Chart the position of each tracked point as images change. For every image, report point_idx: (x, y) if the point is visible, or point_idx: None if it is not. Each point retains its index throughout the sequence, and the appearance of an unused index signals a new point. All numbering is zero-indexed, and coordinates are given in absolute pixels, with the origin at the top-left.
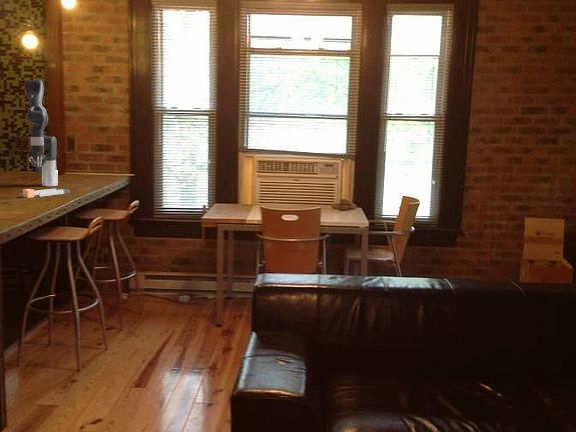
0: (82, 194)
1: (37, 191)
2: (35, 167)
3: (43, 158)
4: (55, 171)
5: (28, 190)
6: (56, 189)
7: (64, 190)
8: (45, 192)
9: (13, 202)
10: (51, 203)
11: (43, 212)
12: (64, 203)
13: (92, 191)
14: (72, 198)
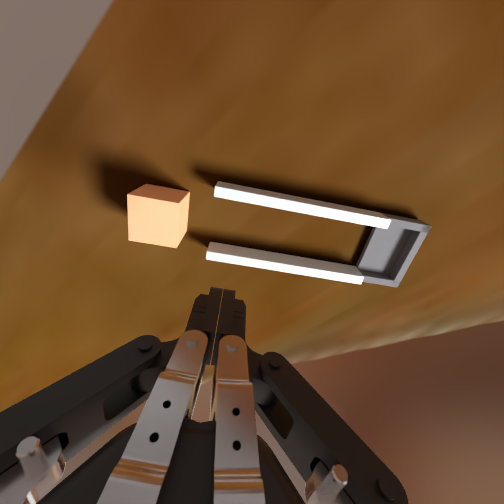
0: (372, 331)
1: (251, 202)
2: (186, 329)
3: (306, 498)
4: None
5: (134, 240)
6: (389, 224)
7: (369, 277)
8: (242, 263)
9: (12, 256)
10: None
11: None
12: None
13: (473, 317)
14: None
